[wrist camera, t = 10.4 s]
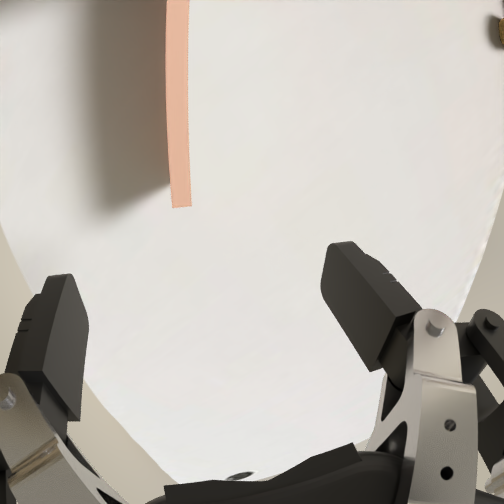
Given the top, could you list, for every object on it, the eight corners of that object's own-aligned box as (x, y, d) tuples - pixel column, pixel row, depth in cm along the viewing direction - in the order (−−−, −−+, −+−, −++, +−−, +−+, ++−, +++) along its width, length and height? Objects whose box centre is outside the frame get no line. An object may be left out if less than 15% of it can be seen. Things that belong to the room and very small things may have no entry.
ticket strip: (175, -95, 10) (180, -126, 6) (192, -95, 11) (200, -126, 7) (170, 180, 23) (172, 208, 19) (185, 179, 23) (191, 206, 19)
